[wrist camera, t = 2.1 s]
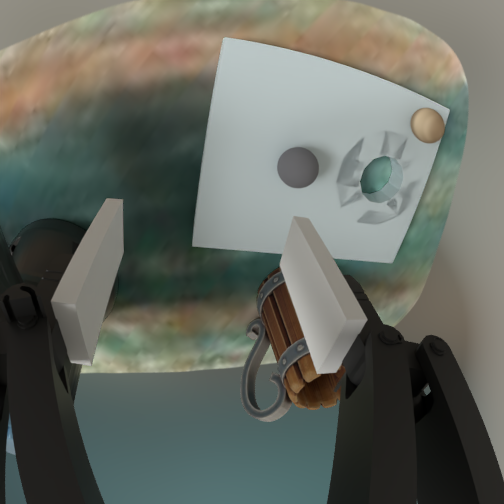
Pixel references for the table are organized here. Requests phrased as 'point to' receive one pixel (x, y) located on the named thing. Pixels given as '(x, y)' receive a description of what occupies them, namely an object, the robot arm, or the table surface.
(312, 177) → the ball
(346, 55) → the table surface
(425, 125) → the cork ball
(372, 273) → the table surface
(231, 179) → the white slab
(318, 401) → the mug
